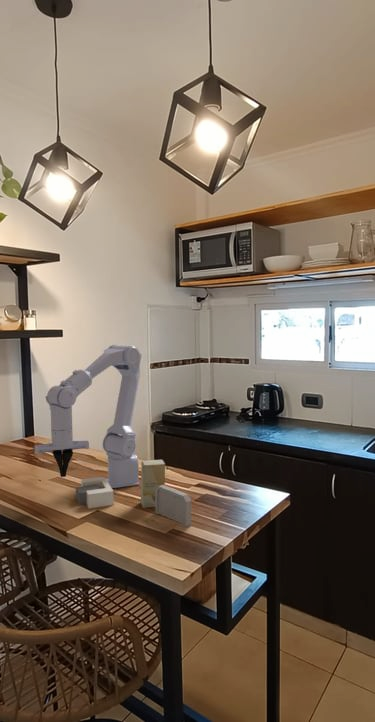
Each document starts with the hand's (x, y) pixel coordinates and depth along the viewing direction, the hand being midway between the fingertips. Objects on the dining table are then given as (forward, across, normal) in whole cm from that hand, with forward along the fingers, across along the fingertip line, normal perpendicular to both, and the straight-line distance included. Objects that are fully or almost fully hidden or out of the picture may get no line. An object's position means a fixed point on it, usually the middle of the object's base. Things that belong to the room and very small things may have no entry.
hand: (63, 475), depth 127 cm
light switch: (+8, -25, +21) cm, 34 cm away
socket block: (+8, -9, 0) cm, 12 cm away
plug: (+8, -7, 0) cm, 11 cm away
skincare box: (+8, -23, +10) cm, 27 cm away
